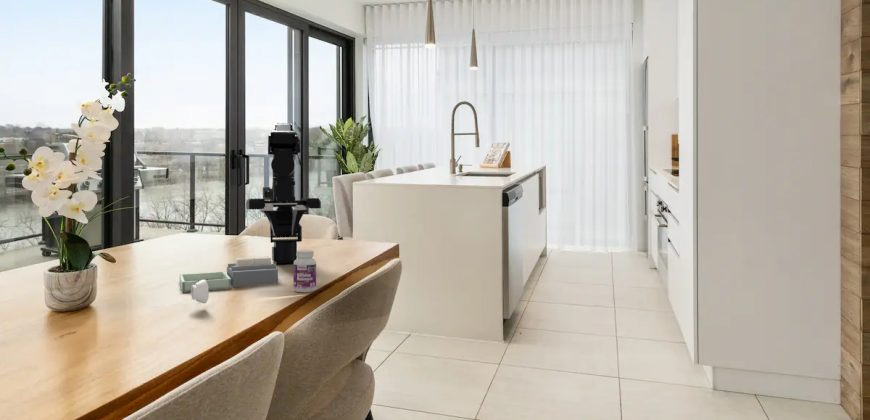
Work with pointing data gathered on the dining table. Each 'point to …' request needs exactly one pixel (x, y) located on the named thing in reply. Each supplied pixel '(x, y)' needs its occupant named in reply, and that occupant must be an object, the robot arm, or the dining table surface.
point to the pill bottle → (304, 272)
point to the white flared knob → (200, 291)
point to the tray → (216, 284)
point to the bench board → (252, 274)
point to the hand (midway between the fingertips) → (284, 235)
